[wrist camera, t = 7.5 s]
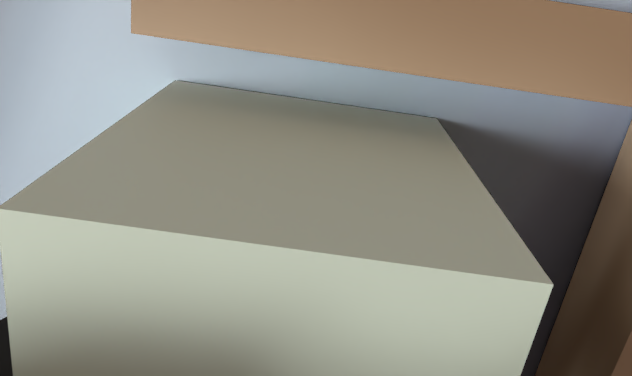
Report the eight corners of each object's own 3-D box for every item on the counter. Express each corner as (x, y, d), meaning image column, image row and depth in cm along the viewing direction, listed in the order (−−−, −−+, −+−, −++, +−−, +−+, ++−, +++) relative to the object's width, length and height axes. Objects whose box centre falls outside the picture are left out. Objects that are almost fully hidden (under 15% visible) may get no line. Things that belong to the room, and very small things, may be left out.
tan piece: (534, 511, 13) (604, 696, 9) (-132, 429, 12) (-297, 593, 9) (743, 30, 8) (998, 68, 5) (-267, -125, 8) (-671, -186, 5)
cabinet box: (373, 387, 11) (412, 783, 6) (163, 360, 11) (3, 738, 6) (436, 118, 9) (600, 349, 4) (174, 80, 9) (-75, 258, 3)
